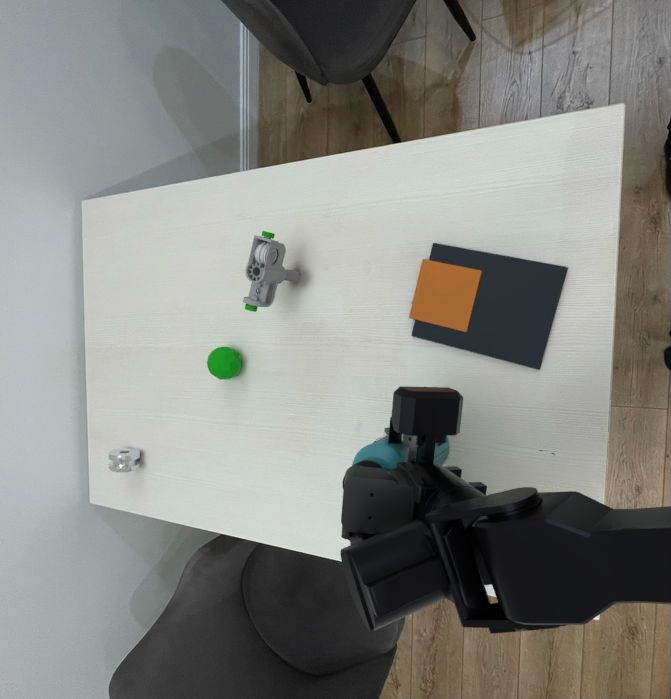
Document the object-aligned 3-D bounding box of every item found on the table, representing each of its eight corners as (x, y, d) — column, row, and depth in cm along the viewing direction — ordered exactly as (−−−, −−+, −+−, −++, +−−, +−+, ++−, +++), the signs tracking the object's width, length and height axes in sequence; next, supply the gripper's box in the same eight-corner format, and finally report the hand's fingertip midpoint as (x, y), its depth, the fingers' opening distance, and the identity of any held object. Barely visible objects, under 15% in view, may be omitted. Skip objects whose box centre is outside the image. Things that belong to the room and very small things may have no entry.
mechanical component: (279, 307, 79) (236, 306, 70) (296, 238, 77) (254, 228, 68) (295, 313, 78) (254, 313, 69) (313, 243, 76) (273, 233, 67)
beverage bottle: (465, 436, 65) (406, 481, 47) (437, 479, 66) (371, 537, 49) (420, 405, 67) (348, 437, 49) (395, 447, 69) (317, 492, 51)
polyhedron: (217, 368, 85) (196, 371, 80) (227, 340, 83) (206, 341, 79) (240, 383, 83) (220, 387, 78) (251, 354, 82) (231, 357, 77)
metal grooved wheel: (146, 451, 93) (123, 457, 88) (146, 467, 93) (122, 475, 89) (125, 446, 95) (102, 452, 91) (125, 462, 95) (101, 470, 91)
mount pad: (568, 267, 61) (567, 267, 60) (539, 369, 63) (538, 369, 62) (428, 242, 68) (426, 241, 67) (406, 334, 70) (405, 334, 69)
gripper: (376, 405, 40) (320, 371, 55) (356, 641, 42) (307, 547, 57) (505, 407, 43) (419, 374, 58) (481, 625, 45) (404, 540, 60)
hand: (386, 459), depth 58 cm, fingers closed on beverage bottle, 6 cm apart
